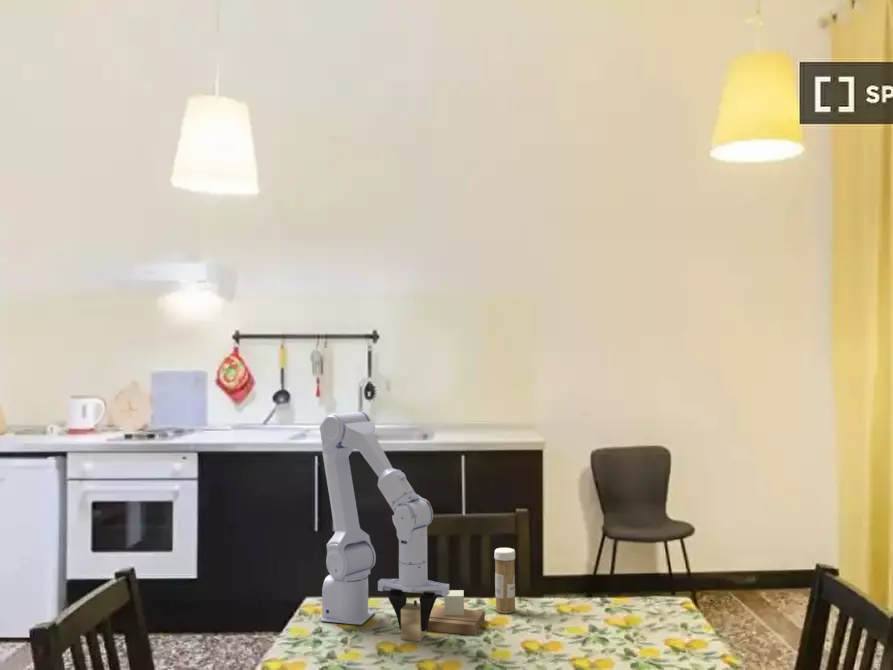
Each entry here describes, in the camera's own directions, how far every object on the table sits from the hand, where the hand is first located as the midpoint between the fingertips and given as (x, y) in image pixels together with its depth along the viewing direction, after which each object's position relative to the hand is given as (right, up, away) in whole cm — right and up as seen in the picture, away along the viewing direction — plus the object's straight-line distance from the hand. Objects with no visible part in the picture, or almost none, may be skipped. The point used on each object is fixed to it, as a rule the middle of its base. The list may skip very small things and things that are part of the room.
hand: (413, 628), depth 159 cm
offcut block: (+8, 0, +9) cm, 12 cm away
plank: (+6, -2, +7) cm, 9 cm away
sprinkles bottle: (+19, -2, +15) cm, 25 cm away
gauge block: (0, -2, 0) cm, 2 cm away
